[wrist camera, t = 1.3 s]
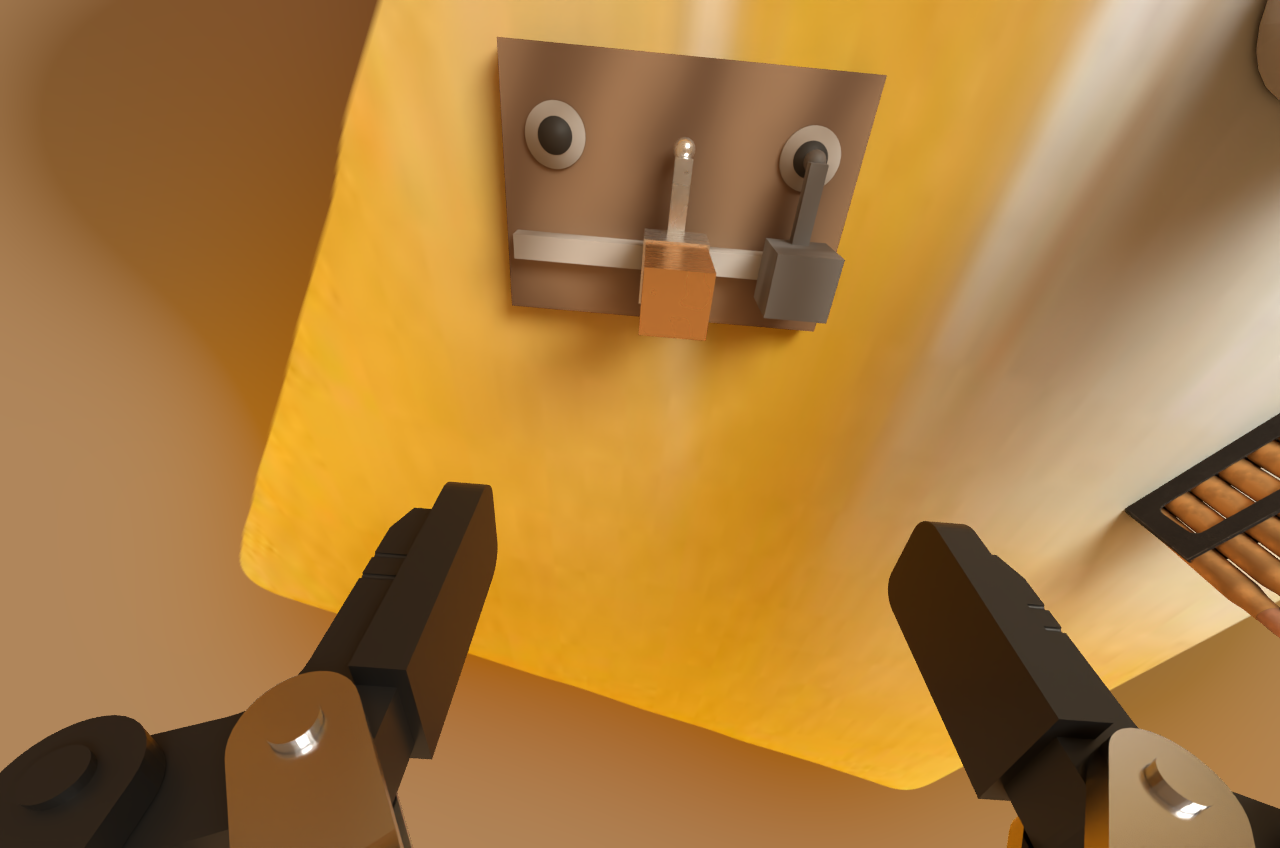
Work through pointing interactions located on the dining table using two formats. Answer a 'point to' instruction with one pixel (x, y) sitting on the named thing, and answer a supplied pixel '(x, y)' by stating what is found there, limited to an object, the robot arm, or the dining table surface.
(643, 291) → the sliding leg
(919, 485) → the dining table surface
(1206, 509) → the ammunition clip
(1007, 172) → the dining table surface
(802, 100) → the brown slider base
